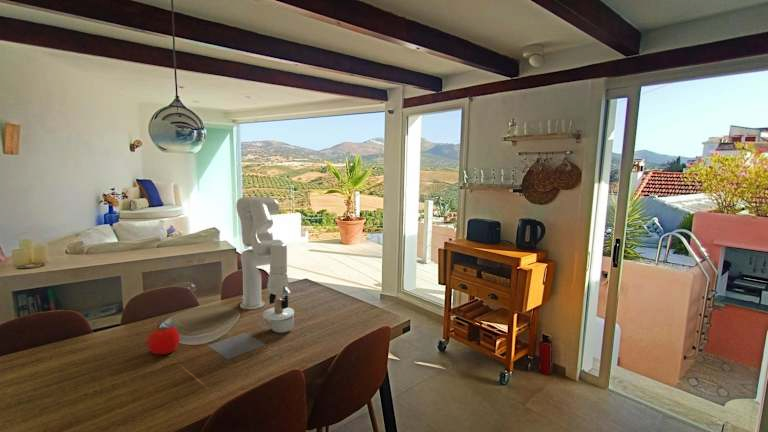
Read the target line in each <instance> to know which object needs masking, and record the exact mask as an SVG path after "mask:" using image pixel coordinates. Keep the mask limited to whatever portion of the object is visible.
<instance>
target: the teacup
mask: <svg viewBox="0 0 768 432" xmlns="http://www.w3.org/2000/svg"><path fill="white" fill-rule="evenodd" d="M262 320H263V323H264V324H265V325H267V326H269V327H270V328H271V330H272V331H273V332H276V333H278V334H283V333H288V332H290V331H291V330H292V329H293V327H294V325H295V323H294V322H295V314H294V315H293V316H292V317H290V318H288V319H285V320H269V321H270V322H269V321H268V320H267V319H265V318H264V317H263V319H262Z"/></svg>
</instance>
